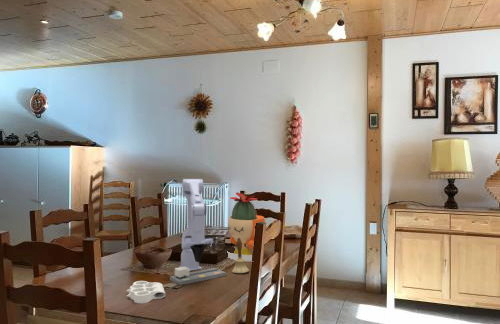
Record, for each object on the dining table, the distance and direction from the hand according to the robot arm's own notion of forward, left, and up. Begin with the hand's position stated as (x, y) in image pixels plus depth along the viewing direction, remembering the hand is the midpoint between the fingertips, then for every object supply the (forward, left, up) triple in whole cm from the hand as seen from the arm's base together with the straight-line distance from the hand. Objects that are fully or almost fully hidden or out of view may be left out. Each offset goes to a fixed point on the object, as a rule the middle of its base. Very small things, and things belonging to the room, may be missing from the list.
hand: (197, 261), depth 180 cm
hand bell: (-2, +26, -9) cm, 27 cm away
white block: (-6, -4, -7) cm, 10 cm away
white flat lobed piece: (+1, -25, -10) cm, 27 cm away
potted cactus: (-25, +46, -10) cm, 53 cm away
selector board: (-6, +4, -9) cm, 12 cm away
